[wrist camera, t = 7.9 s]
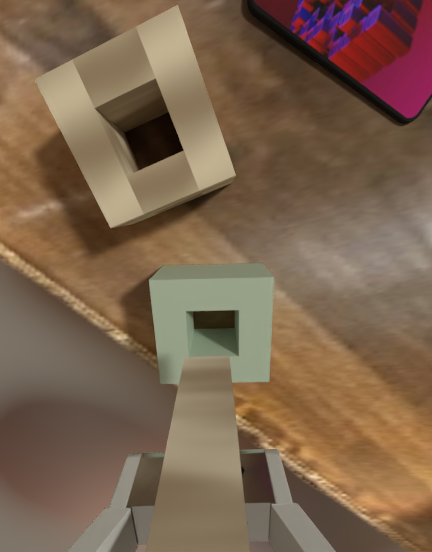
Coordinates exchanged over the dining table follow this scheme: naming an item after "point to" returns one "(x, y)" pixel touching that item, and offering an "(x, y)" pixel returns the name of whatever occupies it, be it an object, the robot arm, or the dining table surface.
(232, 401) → the brown wooden bar
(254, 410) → the dining table surface
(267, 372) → the green square-hole block
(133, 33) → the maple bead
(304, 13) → the smartphone
